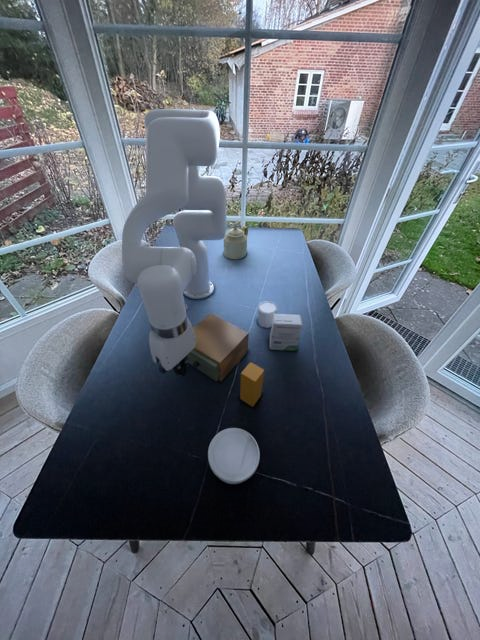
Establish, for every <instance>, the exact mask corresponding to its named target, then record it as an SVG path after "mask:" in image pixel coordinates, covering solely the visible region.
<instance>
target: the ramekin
mask: <svg viewBox="0 0 480 640" xmlns="http://www.w3.org/2000/svg"><path fill="white" fill-rule="evenodd" d="M207 449H208V450H207V459H208V465H209V467H210V469H211V471H212V472H213V474H214V475H215V476H216V477H217V478H218V479H219V480H221V482H224V483H226V484H228V485H229V484H230V485H238V484H241V483H243V482H245V481H247V480H248V479H250V478H252V476H253V475H254V474H255V473H256V471H257V469H258V467H259V464H260V460H261V459H260V458H261V457H260V456H261V453H260V448H259V445H258V442H257V441H256V439H255V437H254V436H253V435H252V434H251V433H250V432H248V431H247V430H245V429H242V428H240V427H239V428H238V427H228V428H225V429H223V430H220V431H219V432H217V434H215V435H214V437H213V438H212V439H211V441H210V443H209V446H208V448H207Z"/></svg>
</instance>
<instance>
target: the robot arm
mask: <svg viewBox="0 0 480 640" xmlns="http://www.w3.org/2000/svg"><path fill="white" fill-rule="evenodd" d="M143 119H144V120H143V121H144V128H145V131H146V133H145V193H144V194H143V197H141V198H140V200H138V201H137V203H136V204H135V205H134V206H133V208H132V209H131V211H130V212H129V214H128V216H127V218H126V220H125V222H124V224H123V228H122V233H121V262H122V263H121V264H122V269H123V273H124V275H125V278H126V279H127V280H128V281H129V282H130V283H132V284H136V285H137V288H138V291H139V294H140V297H141V301H142V304H143V307H144V311H145V314H146V316H147V319H148V323H149V326H150V331H149V333H148V344H149V350H150V355H151V359H152V361H153V363H155V365H158V371H159V372H160V373H161V374H163V375H164V374H166V373H168V372H169V371H170V370H173V373H174V374H175V375H177V376H180V377H182V378H184V377H185V376H186V375H187V374H188V373H189V371H188V365H187V364H188V363H187V361H188V354H189V353H190V352H191V351H192V350H193V349H194V347H195V345H196V338H195V334H194V330H193V327H194V326H193V325H192V323H191V321H190V318H188V315H187V312H188V310H189V307H188V305H187V304H185V303H186V302H185V297H187V298H190V299H193V300H201V299H202V300H203V299H205V298H208V297H210V296H211V295H212V294H213V293H214V290H215V285H214V283H213V282H212V281H211V280H210V269H209V267H210V266H209V254H208V252H209V251H208V248H207V246H206V244H205V243H204V242H203V241H222V240H224V237H225V235H226V232H227V231H228V230H227V229H228V224H227V223H228V221H227V194H226V193H227V192H226V187H225V183H224V181H223V179H222V178H221V177H219V176H215V175H201V174H200V169H199V167H212V166H213V165H214V164H215V163H216V162H217V158H218V154H219V148H220V146H219V145H220V139H221V129H220V122H219V119H218V117H217V115H216V113H215V112H214V111H212V110H207V109H183V108H157V109H152V110H150V111H147V112H146V114H145V115H144V118H143ZM179 210H180V211H179ZM177 211H178V212H177ZM175 212H177V213H175ZM172 213H175V215H174V217H173V228H174V232H175V234H176V238H177V241H178V245H179V246H142V241H143V237H144V234H145V232H146V231H147V229H148V228H149V227H150V226H151V225H153V224H154V223H155V222H156V221H159V220H160V219H162V218H164V217H166V216H168V215H170V214H172ZM184 296H185V297H184Z"/></svg>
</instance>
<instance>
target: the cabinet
mask: <svg viewBox="0 0 480 640" xmlns="http://www.w3.org/2000/svg"><path fill="white" fill-rule="evenodd" d="M192 327H193V330H194V334H195V338H196V345H195V347H194V349H195V350H196V351H198V352H200V353H201V354H203V355H205V356H206V357H208V358H210V359H211V360H213V361H215V362H216V363H218V367H219V379H218V381H220V382H222V381H223V380H224V379H225V378H226V377H227V375H228V374H229V373H231V371H232V370H233V369H234V367H235V366H236V365H237V364H238V363H240V361H241V360H242V359H243V358H244V357H245V355H246V354H247V353H248V351H249V335H250V332H248V331H246V330H245V329H242V328H241V327H238V326H237V325H234V324H232V323H230V322H229V321H226V320H225V319H223V318H221V317H219V316H217V315H216V314H214V313H212V312H210V313H209V314H208V315H206V316H205V317H204V318H203V319H202V320H201V321H199V322H198V323H197V324H196V325H194V326H192Z"/></svg>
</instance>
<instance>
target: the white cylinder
mask: <svg viewBox="0 0 480 640" xmlns="http://www.w3.org/2000/svg"><path fill="white" fill-rule="evenodd" d="M278 310H279V308H278V305H277V304H276V303H275V302H273V301H270V300H265V301H261V302H259V303H258V304H257V323H258V325H259V326H260V327H261V328H271V326H272V319H273V314H278Z"/></svg>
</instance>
